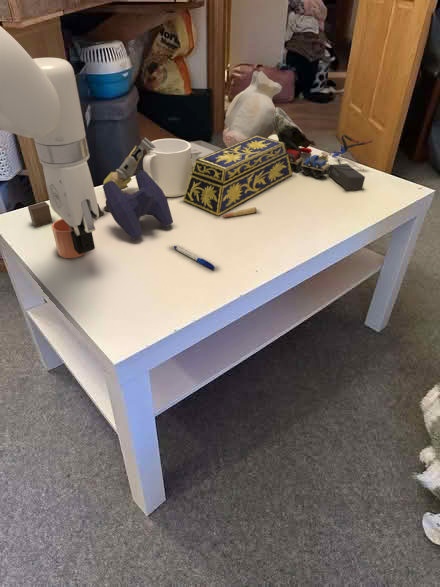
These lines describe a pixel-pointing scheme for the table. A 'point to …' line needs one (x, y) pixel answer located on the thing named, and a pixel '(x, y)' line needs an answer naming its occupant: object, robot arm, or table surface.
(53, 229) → the cup
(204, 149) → the skate ramp
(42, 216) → the stop block
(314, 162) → the toy train
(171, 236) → the table surface
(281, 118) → the rock
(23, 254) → the table surface
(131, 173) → the toy
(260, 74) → the crumpled bag
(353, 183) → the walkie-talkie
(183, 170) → the mug
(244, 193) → the decorative box
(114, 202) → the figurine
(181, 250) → the ballpoint pen
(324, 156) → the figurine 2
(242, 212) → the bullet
